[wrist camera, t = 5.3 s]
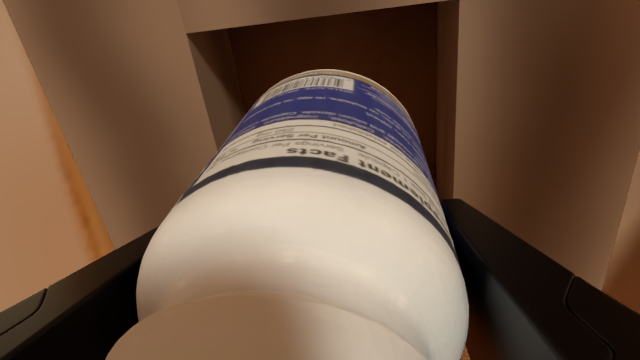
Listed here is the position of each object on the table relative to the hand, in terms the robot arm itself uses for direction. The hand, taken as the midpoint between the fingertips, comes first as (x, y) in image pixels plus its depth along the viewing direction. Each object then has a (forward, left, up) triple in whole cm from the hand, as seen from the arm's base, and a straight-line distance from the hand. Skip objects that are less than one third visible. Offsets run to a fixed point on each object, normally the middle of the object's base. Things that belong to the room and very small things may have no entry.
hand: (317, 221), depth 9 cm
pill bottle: (0, 0, -4) cm, 4 cm away
